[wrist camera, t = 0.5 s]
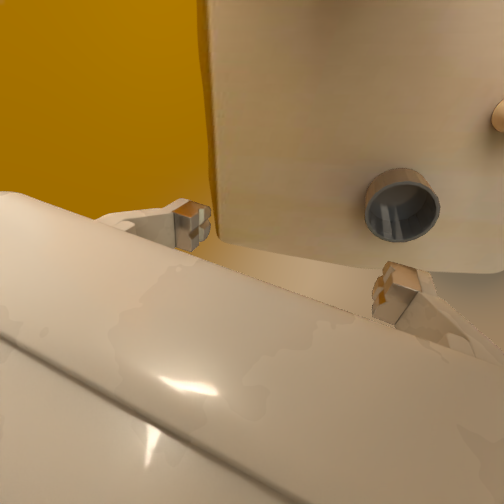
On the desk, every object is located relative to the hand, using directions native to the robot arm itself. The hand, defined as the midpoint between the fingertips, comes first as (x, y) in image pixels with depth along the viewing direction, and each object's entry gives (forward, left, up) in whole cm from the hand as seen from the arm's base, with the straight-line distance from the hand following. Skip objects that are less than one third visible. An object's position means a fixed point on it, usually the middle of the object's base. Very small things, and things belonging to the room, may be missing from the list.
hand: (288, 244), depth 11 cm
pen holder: (+10, +12, -44) cm, 46 cm away
